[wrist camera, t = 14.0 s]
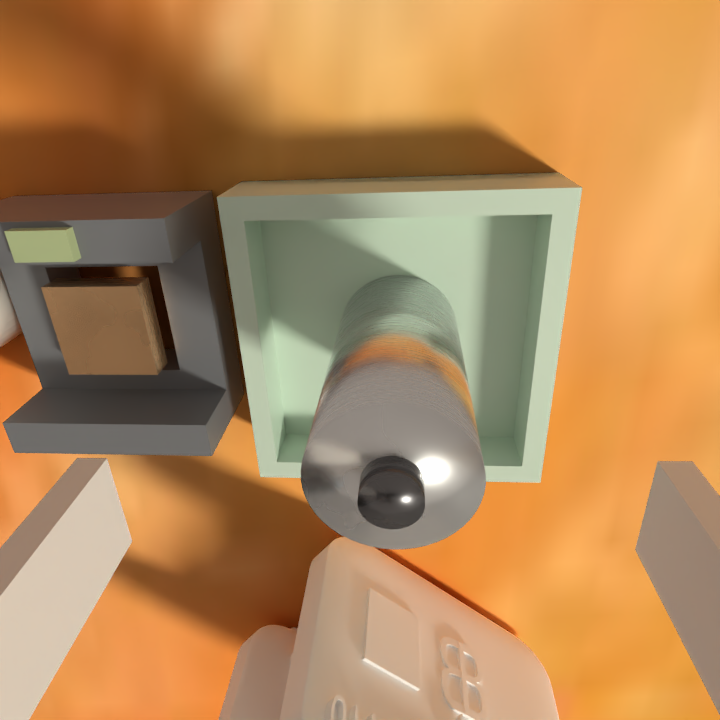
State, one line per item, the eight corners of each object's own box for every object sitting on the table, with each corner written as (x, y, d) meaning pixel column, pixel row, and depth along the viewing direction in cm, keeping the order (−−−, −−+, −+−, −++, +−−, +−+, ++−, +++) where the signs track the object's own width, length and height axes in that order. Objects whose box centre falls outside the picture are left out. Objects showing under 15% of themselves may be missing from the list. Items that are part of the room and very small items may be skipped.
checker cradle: (77, 392, 26) (8, 458, 21) (14, 195, 22) (-89, 226, 17) (244, 393, 25) (208, 462, 20) (211, 190, 21) (158, 221, 16)
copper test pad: (82, 362, 22) (69, 374, 21) (56, 278, 21) (41, 287, 20) (167, 362, 22) (157, 374, 21) (148, 277, 20) (136, 286, 19)
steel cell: (343, 380, 23) (302, 569, 14) (337, 275, 21) (286, 421, 12) (453, 381, 23) (483, 576, 14) (459, 274, 21) (498, 424, 12)
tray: (275, 435, 26) (260, 477, 23) (241, 181, 21) (216, 196, 18) (526, 439, 25) (540, 482, 22) (558, 172, 20) (582, 187, 17)
